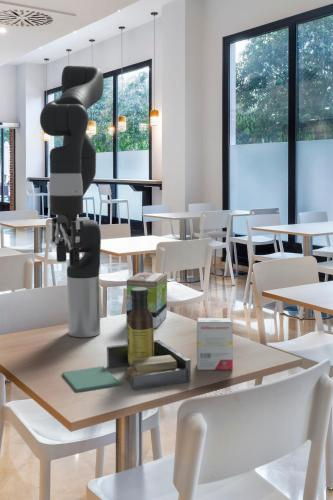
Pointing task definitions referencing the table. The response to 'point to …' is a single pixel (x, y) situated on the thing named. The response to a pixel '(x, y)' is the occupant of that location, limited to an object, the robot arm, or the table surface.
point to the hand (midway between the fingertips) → (67, 263)
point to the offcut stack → (151, 365)
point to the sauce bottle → (140, 327)
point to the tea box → (150, 294)
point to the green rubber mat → (90, 378)
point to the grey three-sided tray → (155, 379)
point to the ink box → (214, 344)
